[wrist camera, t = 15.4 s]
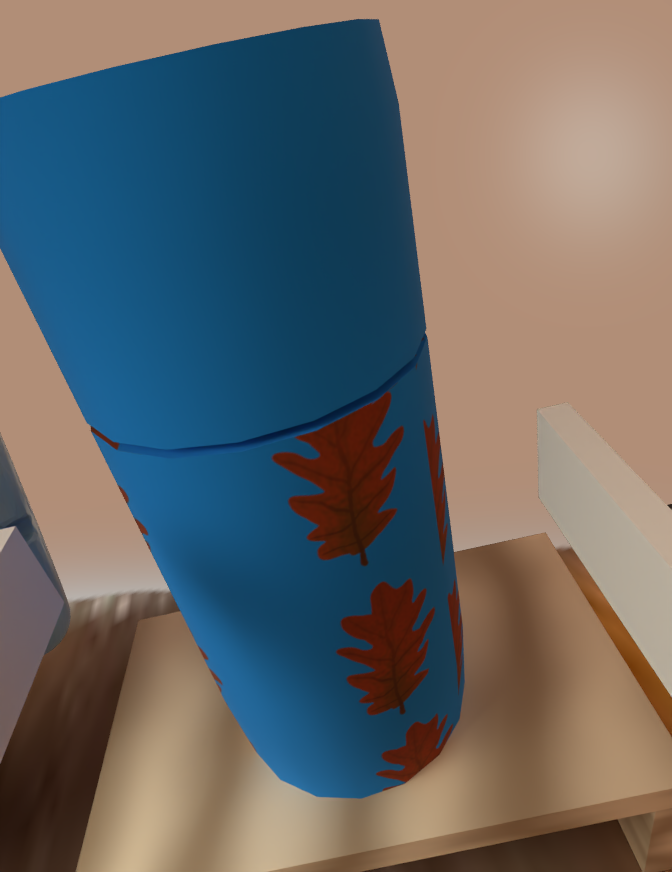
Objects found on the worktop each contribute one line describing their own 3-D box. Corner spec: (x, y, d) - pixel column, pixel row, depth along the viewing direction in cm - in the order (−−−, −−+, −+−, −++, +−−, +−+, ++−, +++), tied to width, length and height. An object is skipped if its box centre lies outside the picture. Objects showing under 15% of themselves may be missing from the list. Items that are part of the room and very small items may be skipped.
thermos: (220, 648, 31) (-25, 124, 18) (398, 566, 33) (298, 52, 20) (282, 859, 22) (-120, 113, 9) (519, 725, 24) (480, -13, 11)
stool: (135, 977, 25) (65, 912, 22) (179, 692, 37) (138, 620, 34) (678, 867, 25) (699, 782, 21) (546, 614, 37) (545, 532, 33)
